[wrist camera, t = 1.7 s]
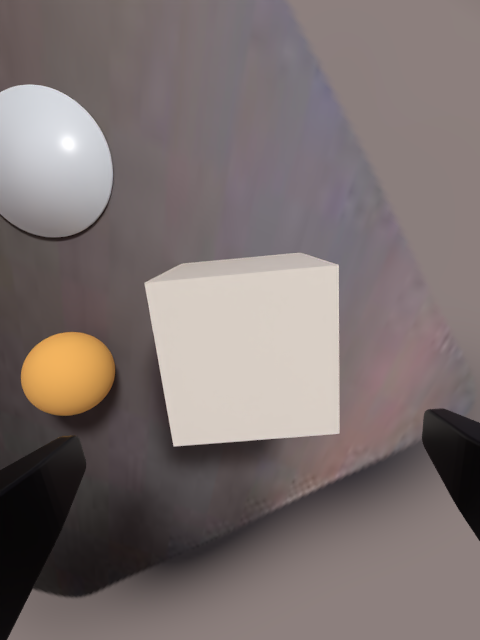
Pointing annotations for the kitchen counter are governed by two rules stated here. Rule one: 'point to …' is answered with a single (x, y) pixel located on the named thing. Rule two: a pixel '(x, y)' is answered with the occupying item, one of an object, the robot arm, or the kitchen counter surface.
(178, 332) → the cream cube
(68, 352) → the ball
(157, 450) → the kitchen counter surface
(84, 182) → the white round disc
